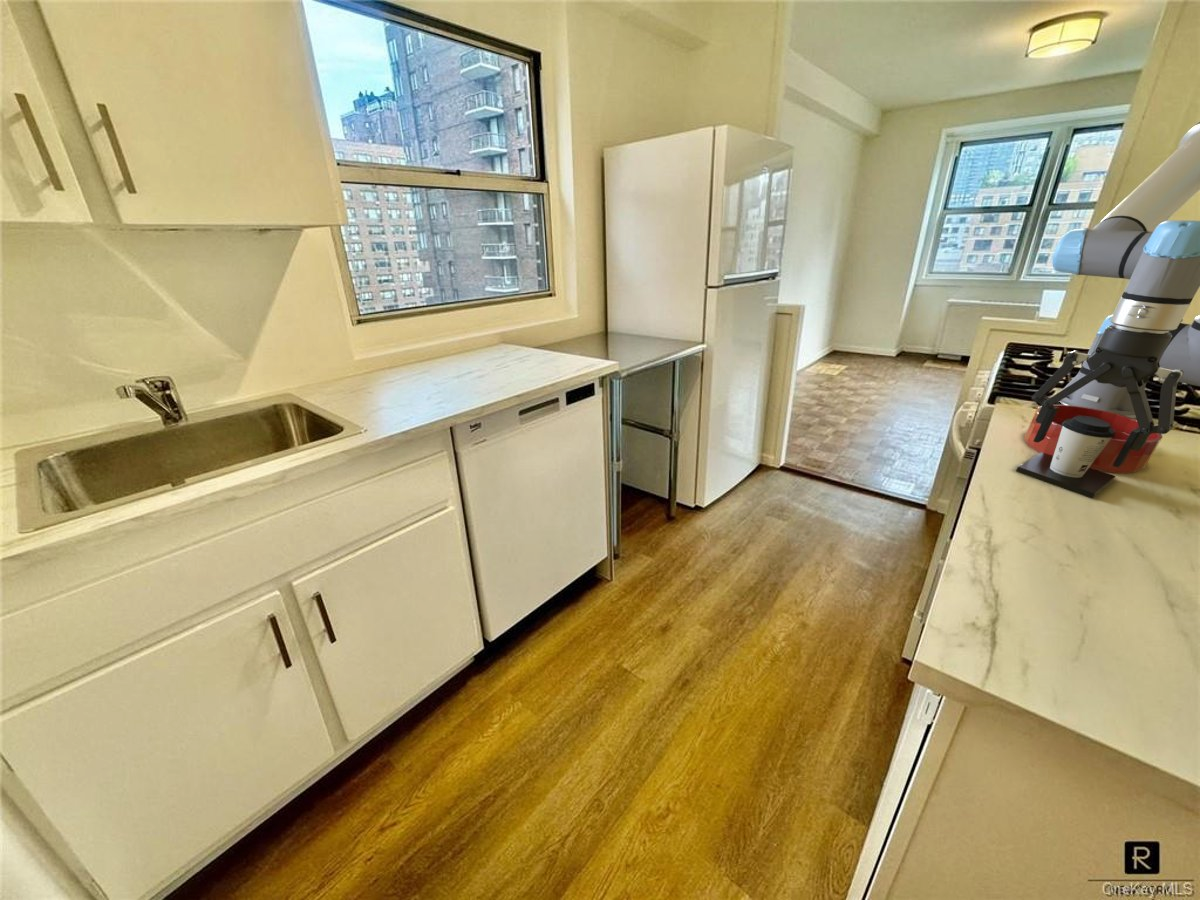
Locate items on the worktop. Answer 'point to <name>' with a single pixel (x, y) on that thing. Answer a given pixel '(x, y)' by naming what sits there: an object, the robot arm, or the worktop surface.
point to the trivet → (1083, 485)
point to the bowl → (1113, 447)
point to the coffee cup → (1080, 445)
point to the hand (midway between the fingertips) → (1076, 451)
